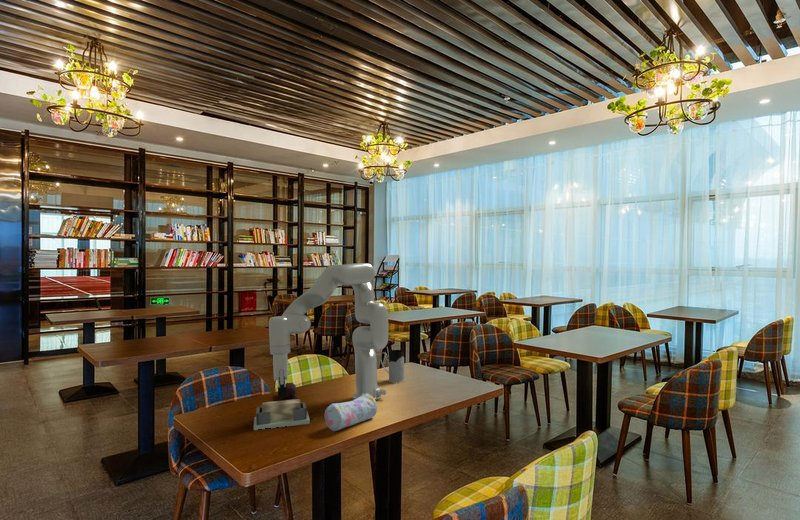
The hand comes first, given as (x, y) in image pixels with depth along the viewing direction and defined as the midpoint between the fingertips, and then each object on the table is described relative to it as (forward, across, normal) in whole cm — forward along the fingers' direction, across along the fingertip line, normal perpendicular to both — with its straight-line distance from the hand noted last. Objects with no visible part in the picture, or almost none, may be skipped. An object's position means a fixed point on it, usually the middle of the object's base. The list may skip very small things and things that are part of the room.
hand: (282, 397), depth 176 cm
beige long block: (+8, 0, -1) cm, 8 cm away
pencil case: (+10, +12, +24) cm, 29 cm away
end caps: (+8, 0, -1) cm, 8 cm away
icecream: (+10, -34, +3) cm, 35 cm away
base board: (+9, 0, -1) cm, 9 cm away
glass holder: (+11, -46, +55) cm, 73 cm away
